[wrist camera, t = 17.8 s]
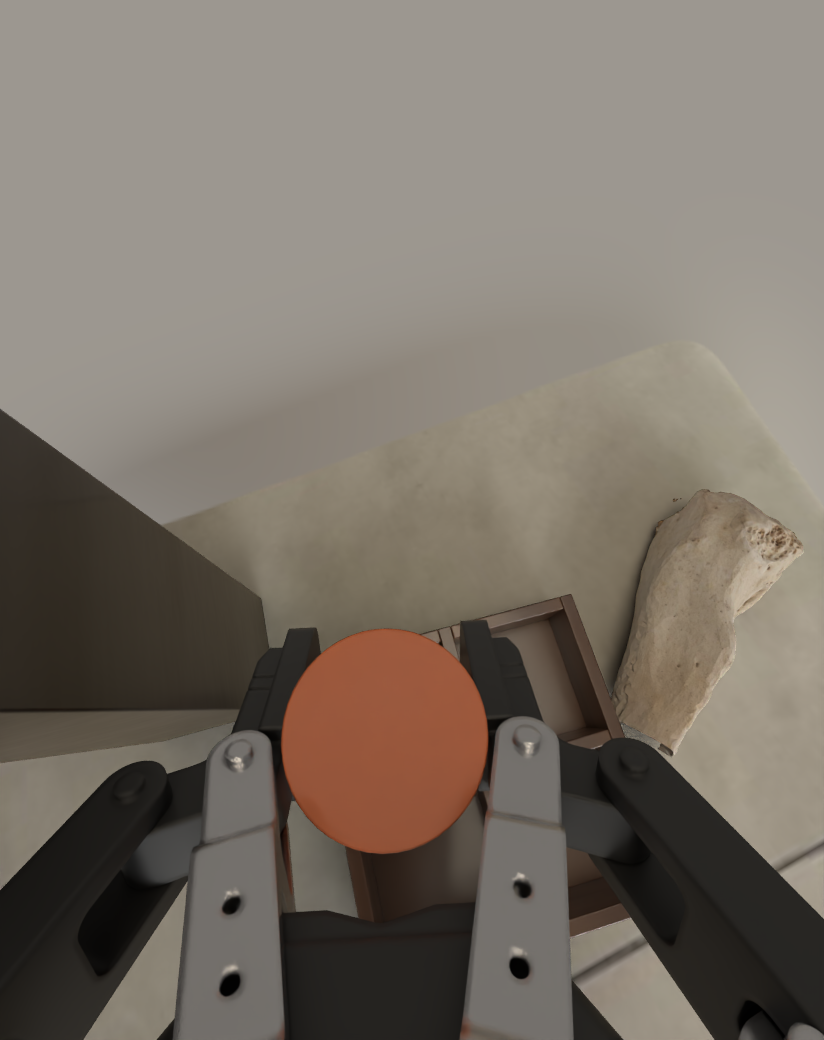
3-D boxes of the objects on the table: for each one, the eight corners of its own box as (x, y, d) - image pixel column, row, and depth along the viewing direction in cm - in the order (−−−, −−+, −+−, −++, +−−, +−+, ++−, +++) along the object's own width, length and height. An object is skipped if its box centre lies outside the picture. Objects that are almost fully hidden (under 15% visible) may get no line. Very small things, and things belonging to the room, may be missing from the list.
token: (352, 804, 16) (301, 883, 9) (328, 679, 18) (265, 656, 10) (470, 769, 17) (517, 818, 9) (438, 649, 18) (455, 606, 11)
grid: (379, 959, 22) (374, 1003, 19) (323, 668, 27) (310, 663, 23) (647, 872, 24) (686, 900, 20) (552, 607, 28) (571, 593, 25)
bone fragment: (670, 492, 30) (714, 457, 26) (770, 554, 29) (835, 528, 25) (552, 684, 27) (580, 681, 22) (661, 765, 25) (714, 778, 21)
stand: (160, 741, 26) (-896, 884, 5) (151, 625, 28) (-626, 379, 7) (279, 709, 26) (-227, 716, 5) (261, 597, 28) (-157, 291, 7)
